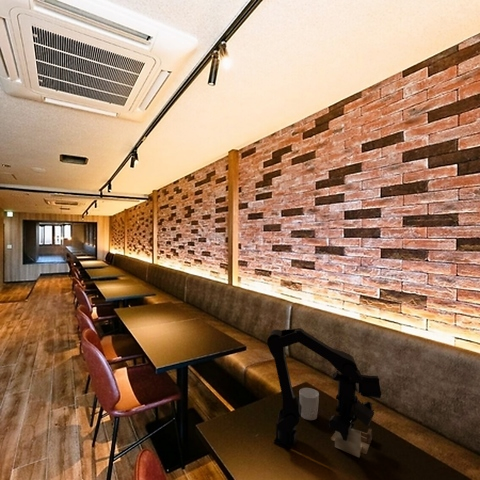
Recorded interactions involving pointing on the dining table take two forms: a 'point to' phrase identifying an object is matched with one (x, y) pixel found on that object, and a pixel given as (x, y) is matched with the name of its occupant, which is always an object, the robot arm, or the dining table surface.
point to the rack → (362, 440)
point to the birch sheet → (349, 442)
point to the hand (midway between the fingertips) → (345, 438)
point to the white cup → (309, 403)
